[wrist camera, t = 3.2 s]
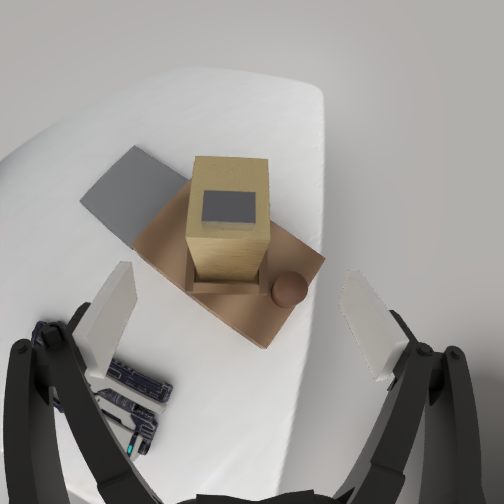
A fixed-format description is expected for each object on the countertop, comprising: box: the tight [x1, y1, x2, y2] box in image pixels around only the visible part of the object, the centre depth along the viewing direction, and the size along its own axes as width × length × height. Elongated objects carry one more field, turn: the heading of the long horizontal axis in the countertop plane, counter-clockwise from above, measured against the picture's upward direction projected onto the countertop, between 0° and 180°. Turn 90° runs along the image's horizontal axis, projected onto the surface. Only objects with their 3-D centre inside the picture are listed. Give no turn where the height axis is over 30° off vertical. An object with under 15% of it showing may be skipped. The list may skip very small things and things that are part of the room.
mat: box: [80, 146, 189, 250], centre depth 33 cm, size 11×11×1 cm
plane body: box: [131, 178, 325, 349], centre depth 28 cm, size 17×11×6 cm
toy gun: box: [31, 321, 173, 462], centre depth 23 cm, size 3×20×15 cm
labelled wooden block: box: [185, 156, 270, 282], centre depth 22 cm, size 5×6×12 cm
